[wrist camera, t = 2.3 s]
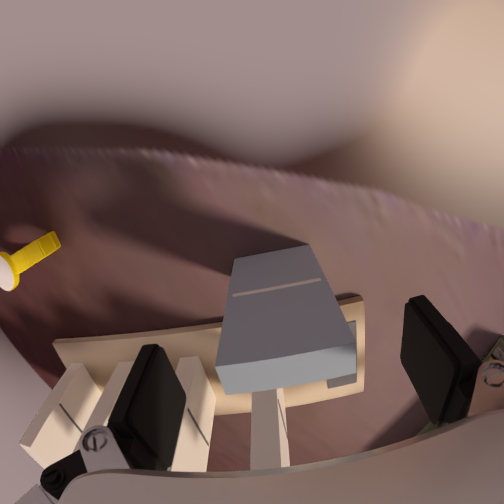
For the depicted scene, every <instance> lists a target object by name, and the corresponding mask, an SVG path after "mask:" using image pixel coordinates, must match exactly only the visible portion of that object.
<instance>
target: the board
mask: <svg viewBox="0 0 504 504" xmlns="http://www.w3.org/2000/svg"><path fill="white" fill-rule="evenodd" d="M337 302H338V304H339V306H340V308H341V310H342V313H343V315H344V317H345V319H346V321H347V323H348V326H349V328H350V330H351V332H352V334H353V337H354V339H355V341H356V373H354V374H350V375H345V376H341V377H337V378H332V379H327V380H323V381H318V382H313V383H307V384H302V385H296V386H291V387H285V388H283V393H284V404H285V407H290V406H296V405H302V404H308V403H313V402H318V401H323V400H328V399H333V398H337V397H342V396H346V395H350V394H354V393H358V392H362V391H364V362H365V321H364V300H363V298H362V297H361V296H356V297H352V298H347V299H343V300H338V301H337ZM222 323H223V322H217V323H210V324H203V325H196V326H188V327H181V328H173V329H165V330H156V331H147V332H138V333H128V334H118V335H107V336H95V337H81V338H66V339H55V341H54V342H53V343H52V344H53V346H54V348H55V350H56V352H57V353H58V355H59V357H60V359H61V360H62V362H63V364H64V365H65V367H66V369H67V368H68V367H69V365H70V364H71V363H83V364H84V366H85V368H86V369H87V371H88V373H89V374H90V376H91V378H92V379H93V381H94V382H95V384H96V386H97V387H98V389H99V390H100V392H101V393H103V391H104V389H105V387H106V385H107V383H108V381H109V379H110V378H111V376H112V374H113V372H114V370H115V368H116V367H117V365H118V363H119V362H129V361H134V362H135V360H136V358H137V356H138V353H139V351H140V349H141V347H142V346H143V345H146V344H158V345H159V346H160V347H163V348H164V350H165V352H166V354H167V357H168V359H169V361H170V363H171V365H172V367H173V369H174V371H175V372H176V369H177V366H178V362H179V359H180V358H183V357H193V356H199V358H200V361H201V363H202V366H203V368H204V371H205V373H206V376H207V378H208V381H209V383H210V385H211V388H212V390H213V392H214V395H215V397H216V403H215V410H214V415H224V414H236V413H246V412H252V392H250V393H241V394H232V395H226V394H225V392H224V389H223V387H222V384H221V382H220V379H219V376H218V374H217V371H216V369H215V363H216V357H217V351H218V346H219V340H220V334H221V329H222Z"/></svg>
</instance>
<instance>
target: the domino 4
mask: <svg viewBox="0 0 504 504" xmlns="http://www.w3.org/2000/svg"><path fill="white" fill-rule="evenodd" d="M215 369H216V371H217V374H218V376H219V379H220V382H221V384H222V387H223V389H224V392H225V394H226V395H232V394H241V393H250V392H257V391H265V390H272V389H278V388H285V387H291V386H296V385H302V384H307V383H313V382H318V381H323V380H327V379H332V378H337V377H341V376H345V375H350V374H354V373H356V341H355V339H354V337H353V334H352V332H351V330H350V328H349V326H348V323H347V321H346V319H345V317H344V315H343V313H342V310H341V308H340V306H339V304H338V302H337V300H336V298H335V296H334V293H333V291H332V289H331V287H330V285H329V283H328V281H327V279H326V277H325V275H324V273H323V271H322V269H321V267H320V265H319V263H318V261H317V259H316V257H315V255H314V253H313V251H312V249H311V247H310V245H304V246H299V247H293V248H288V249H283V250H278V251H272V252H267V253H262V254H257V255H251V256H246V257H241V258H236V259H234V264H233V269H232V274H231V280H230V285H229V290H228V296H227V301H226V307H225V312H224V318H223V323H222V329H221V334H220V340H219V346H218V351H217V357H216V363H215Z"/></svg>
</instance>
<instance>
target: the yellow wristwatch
mask: <svg viewBox="0 0 504 504" xmlns="http://www.w3.org/2000/svg"><path fill="white" fill-rule="evenodd" d="M60 247H61V244H60V242H59V240H58V238H57V235H56V233H55V231H52V232H50V233H48V234H46V235H44V236H42V237H40V238H39V239H37V240H35V241H33V242H32V243H30V244H29V245H27V246H25V247H24V248H22V249H20V250H19V251H17V252H16V253H14V254H13V255H11V256H10V255H9V254H7V253H5V252H0V287H1V288H2V289H4V290H6V291H11V290H13V289H14V288H15V287H16V286H17V285H18V283H19V274H20V273H21V272H23V271H25V270H26V269H28V268H29V267H31V266H32V265H34V264H35V263H37V262H39V261H40V260H42V259H43V258H45V257H46V256H48V255H49V254H51V253H53V252H54V251H56V250H57V249H58V248H60Z"/></svg>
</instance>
